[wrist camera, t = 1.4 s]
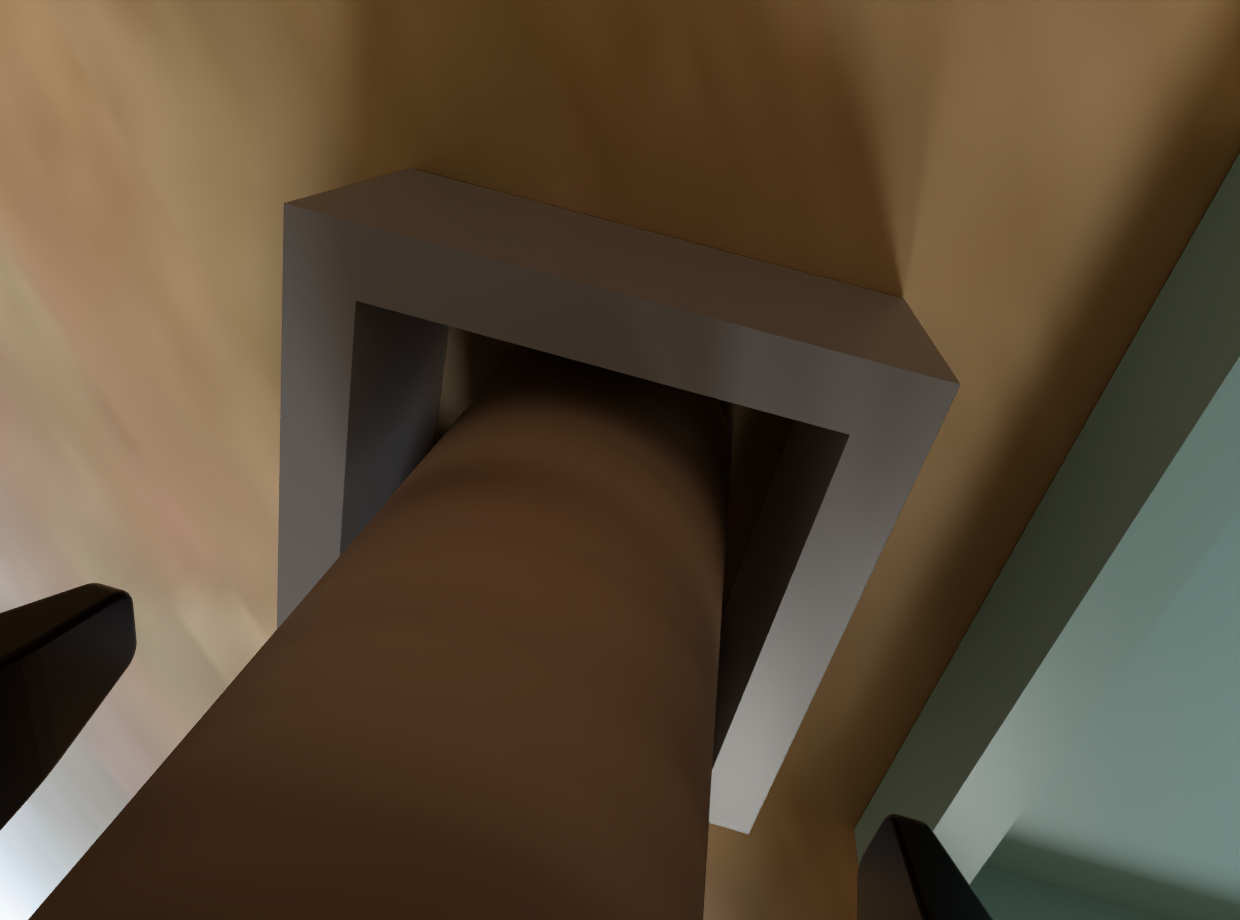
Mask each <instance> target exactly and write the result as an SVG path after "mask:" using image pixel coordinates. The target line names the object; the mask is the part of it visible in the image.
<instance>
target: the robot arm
mask: <svg viewBox="0 0 1240 920" xmlns="http://www.w3.org/2000/svg"><path fill="white" fill-rule="evenodd" d="M135 650H136V631H135V620H134V610H133V601H132V598H131V596H130V595H129V593H127V592H126V591H124V590H120V589H117V588H113V587H110V586H106V585H103V584H99V583H91V584H86V585H83V586H80V587H77V588H74V589H71V590H68V591H65V592H62V593H59V594H56V595H53V596H50V597H47V598H44V599H41V600H38V601H35V602H32V603H29V604H26V605H23V606H20V607H17V608H14V609H11V610H8V611H5V612H2V613H0V830H1V829H2V828H3V827H4V826H5V825H6V823H7V822H8V821H9V820H10V819H11V818H12V817H13V815H14V814H15V813H16V812H17V811H18V810H19V809H20V808H21V806H22V805H23V804H24V803H25V802H26V801H27V800H28V799H29V797H30V796H31V795H32V794H33V793H34V791H35V790H36V789H37V788H38V787H39V786H40V784H41V783H42V782H43V781H44V780H45V778H46V777H47V776H48V775H49V773H50V772H51V771H52V769H53V768H54V767H55V765H56V764H57V763H58V762H59V760H60V759H61V758H62V756H63V755H64V753H65V752H66V751H67V749H68V748H69V747H70V745H71V744H72V743H73V741H74V740H75V738H76V737H77V736H78V734H79V733H80V732H81V730H82V729H83V727H84V726H85V725H86V723H87V722H88V721H89V719H90V718H91V717H92V715H93V714H94V712H95V711H96V710H97V708H98V707H99V706H100V704H101V703H102V702H103V700H104V699H105V697H106V696H107V695H108V693H109V692H110V691H111V689H112V688H113V686H114V685H115V684H116V682H117V681H118V680H119V678H120V677H121V676H122V674H123V673H124V671H125V670H126V669H127V667H128V666H129V664H130V663H131V661H132V659H133V657H134V654H135ZM857 920H993V918H992V917H991V915H990V914H989V912H988V911H987V910H986V908H985V907H984V905H983V904H982V902H981V901H980V899H979V898H978V896H977V895H976V893H975V892H974V891H973V889H972V888H971V886H970V885H969V883H968V882H967V880H966V879H965V877H964V876H963V874H962V873H961V872H960V870H959V869H958V867H957V866H956V864H955V863H954V861H953V860H952V858H951V857H950V855H949V854H948V853H947V851H946V850H945V848H944V847H943V845H942V844H941V842H940V841H939V839H938V838H937V836H936V835H935V833H934V832H933V831H932V829H931V828H930V827H929V826H928V825H927V824H925V823H924V822H922V821H919V820H916V819H912V818H909V817H905V816H902V815H898V814H890V815H888V816H886V817H885V819H884V820H883V821H882V823H881V825H880V826H879V828H878V830H877V832H876V833H875V835H874V837H873V838H872V840H871V842H870V843H869V845H868V847H867V849H866V850H865V852H864V854H863V856H862V858H861V861H860V864H859V868H858V875H857Z"/></svg>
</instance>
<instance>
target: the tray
mask: <svg viewBox="0 0 1240 920" xmlns="http://www.w3.org/2000/svg"><path fill="white" fill-rule="evenodd" d="M890 814H898V815H902V816H905V817H909V818H912V819H916V820H919V821H922V822H924V823H925V824H927V825H928V826H929V827H930V828H931V829H932V831H933V832H934V833H935V835H936V836H937V838H938V839H939V841H940V842H941V844H942V845H943V847H944V848H945V850H946V851H947V853H948V854H949V855H950V857H951V858H952V860H953V861H954V863H955V864H956V866H957V867H958V869H959V870H960V872H961V873H962V874H963V876H964V877H965V879H966V880H967V882H968V883H969V885H970V886H971V888H972V889H973V891H974V892H975V893H976V895H977V896H978V898H979V899H980V901H981V902H982V904H983V905H984V907H985V908H986V910H987V911H988V912H989V914H990V915H991V917H992V918H993V920H1240V153H1239V155H1238V157H1237V158H1236V160H1235V162H1234V164H1233V165H1232V167H1231V169H1230V171H1229V172H1228V174H1227V176H1226V178H1225V179H1224V181H1223V183H1222V185H1221V186H1220V188H1219V190H1218V192H1217V193H1216V195H1215V197H1214V199H1213V200H1212V202H1211V204H1210V206H1209V208H1208V209H1207V211H1206V213H1205V215H1204V216H1203V218H1202V220H1201V222H1200V223H1199V225H1198V227H1197V229H1196V230H1195V232H1194V234H1193V236H1192V237H1191V239H1190V241H1189V243H1188V244H1187V246H1186V248H1185V250H1184V251H1183V253H1182V255H1181V257H1180V258H1179V260H1178V262H1177V264H1176V265H1175V267H1174V269H1173V271H1172V272H1171V274H1170V276H1169V278H1168V280H1167V281H1166V283H1165V285H1164V287H1163V288H1162V290H1161V292H1160V294H1159V295H1158V297H1157V299H1156V301H1155V302H1154V304H1153V306H1152V308H1151V309H1150V311H1149V313H1148V315H1147V316H1146V318H1145V320H1144V322H1143V323H1142V325H1141V327H1140V329H1139V330H1138V332H1137V334H1136V336H1135V337H1134V339H1133V341H1132V343H1131V344H1130V346H1129V348H1128V350H1127V351H1126V353H1125V355H1124V357H1123V359H1122V360H1121V362H1120V364H1119V366H1118V367H1117V369H1116V371H1115V373H1114V374H1113V376H1112V378H1111V380H1110V381H1109V383H1108V385H1107V387H1106V388H1105V390H1104V392H1103V394H1102V395H1101V397H1100V399H1099V401H1098V402H1097V404H1096V406H1095V408H1094V409H1093V411H1092V413H1091V415H1090V416H1089V418H1088V420H1087V422H1086V423H1085V425H1084V427H1083V429H1082V430H1081V432H1080V434H1079V436H1078V438H1077V439H1076V441H1075V443H1074V445H1073V446H1072V448H1071V450H1070V452H1069V453H1068V455H1067V457H1066V459H1065V460H1064V462H1063V464H1062V466H1061V467H1060V469H1059V471H1058V473H1057V474H1056V476H1055V478H1054V480H1053V481H1052V483H1051V485H1050V487H1049V488H1048V490H1047V492H1046V494H1045V495H1044V497H1043V499H1042V501H1041V502H1040V504H1039V506H1038V508H1037V509H1036V511H1035V513H1034V515H1033V517H1032V518H1031V520H1030V522H1029V524H1028V525H1027V527H1026V529H1025V531H1024V532H1023V534H1022V536H1021V538H1020V539H1019V541H1018V543H1017V545H1016V546H1015V548H1014V550H1013V552H1012V553H1011V555H1010V557H1009V559H1008V560H1007V562H1006V564H1005V566H1004V567H1003V569H1002V571H1001V573H1000V574H999V576H998V578H997V580H996V581H995V583H994V585H993V587H992V588H991V590H990V592H989V594H988V596H987V597H986V599H985V601H984V603H983V604H982V606H981V608H980V610H979V611H978V613H977V615H976V617H975V618H974V620H973V622H972V624H971V625H970V627H969V629H968V631H967V632H966V634H965V636H964V638H963V639H962V641H961V643H960V645H959V646H958V648H957V650H956V652H955V653H954V655H953V657H952V659H951V660H950V662H949V664H948V666H947V667H946V669H945V671H944V673H943V675H942V676H941V678H940V680H939V682H938V683H937V685H936V687H935V689H934V690H933V692H932V694H931V696H930V697H929V699H928V701H927V703H926V704H925V706H924V708H923V710H922V711H921V713H920V715H919V717H918V718H917V720H916V722H915V724H914V725H913V727H912V729H911V731H910V732H909V734H908V736H907V738H906V739H905V741H904V743H903V745H902V747H901V748H900V750H899V752H898V754H897V755H896V757H895V759H894V761H893V762H892V764H891V766H890V768H889V769H888V771H887V773H886V775H885V776H884V778H883V780H882V782H881V783H880V785H879V787H878V789H877V790H876V792H875V794H874V796H873V797H872V799H871V801H870V803H869V804H868V806H867V808H866V810H865V811H864V813H863V815H862V817H861V818H860V820H859V822H858V824H857V826H856V827H855V829H854V835H855V842H856V850H857V857H858V865H859V864H860V861H861V858H862V856H863V854H864V852H865V850H866V849H867V847H868V845H869V843H870V842H871V840H872V838H873V837H874V835H875V833H876V832H877V830H878V828H879V826H880V825H881V823H882V821H883V820H884V819H885V817H886V816H888V815H890Z"/></svg>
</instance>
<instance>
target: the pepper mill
mask: <svg viewBox="0 0 1240 920" xmlns="http://www.w3.org/2000/svg"><path fill="white" fill-rule="evenodd" d="M730 468H731V441H730V436H729V431H728V425H727V422H726V419H725V417H724V414H723V411H722V408H721V407H720V405H719V403H718V401H717V399H716V398H712V397H709V396H705V395H701V394H698V393H694V392H690V391H686V390H683V389H679V388H675V387H672V386H668V385H664V384H661V383H657V382H653V381H650V380H646V379H642V378H639V377H635V376H631V375H628V374H624V373H620V372H617V371H613V370H609V369H606V368H602V367H598V366H594V365H591V364H587V363H583V362H580V361H576V360H572V359H569V358H565V357H561V356H558V355H554V354H550V353H547V352H543V351H539V350H536V349H532V348H528V347H525V348H523V349H522V350H520V351H519V352H517V353H516V354H515V355H514V356H513V357H512V358H511V359H509V360H508V361H507V362H506V363H505V364H504V365H503V366H502V368H501V369H500V370H499V371H498V372H497V373H496V375H495V376H494V377H493V378H492V379H491V380H490V382H489V383H488V384H487V385H486V386H485V387H484V389H483V390H482V391H481V392H480V393H479V394H478V396H477V397H476V398H475V399H474V400H473V401H472V403H471V404H470V405H469V406H468V407H467V408H466V410H465V411H464V412H463V413H462V414H461V415H460V417H459V418H458V419H457V420H456V421H455V422H454V424H453V425H452V426H451V427H450V428H449V429H448V431H447V432H446V433H445V434H444V435H443V436H442V438H441V439H440V440H439V441H438V442H437V443H436V445H435V446H434V447H433V448H432V449H431V450H430V452H429V453H428V454H427V455H426V456H425V457H424V459H423V460H422V461H421V462H420V463H419V464H418V466H417V467H416V468H415V469H414V470H413V471H412V473H411V474H410V475H409V476H408V477H407V478H406V480H405V481H404V482H403V483H402V484H401V485H400V487H399V488H398V489H397V490H396V491H395V492H394V494H393V495H392V496H391V497H390V498H389V499H388V501H387V502H386V503H385V504H384V505H383V506H382V508H381V509H380V510H379V511H378V512H377V513H376V515H375V516H374V517H373V518H372V519H371V520H370V522H369V523H368V524H367V525H366V526H365V527H364V529H363V530H362V531H361V532H360V533H359V534H358V536H357V537H356V538H355V539H354V540H353V541H352V543H351V544H350V545H349V546H348V547H347V548H346V550H345V551H344V552H343V553H342V554H341V555H340V557H339V558H338V559H337V560H336V561H335V562H334V564H333V565H332V566H331V567H330V568H329V569H328V571H327V572H326V573H325V574H324V575H323V576H322V578H321V579H320V580H319V581H318V582H317V583H316V585H315V586H314V587H313V588H312V589H311V590H310V592H309V593H308V594H307V595H306V596H305V597H304V599H303V600H302V601H301V602H300V603H299V604H298V606H297V607H296V608H295V609H294V610H293V611H292V613H291V614H290V615H289V616H288V617H287V618H286V620H285V621H284V622H283V623H282V624H281V625H280V627H279V628H278V629H277V630H276V631H275V632H274V634H273V635H272V636H271V637H270V638H269V639H268V641H267V642H266V643H265V644H264V645H263V646H262V648H261V649H260V650H259V651H258V652H257V653H256V655H255V656H254V657H253V658H252V659H251V660H250V662H249V663H248V664H247V665H246V666H245V667H244V669H243V670H242V671H241V672H240V673H239V674H238V676H237V677H236V678H235V679H234V680H233V681H232V683H231V684H230V685H229V686H228V687H227V688H226V690H225V691H224V692H223V693H222V694H221V695H220V697H219V698H218V699H217V700H216V701H215V703H214V704H213V705H212V706H211V707H210V708H209V710H208V711H207V712H206V713H205V714H204V715H203V717H202V718H201V719H200V720H199V721H198V722H197V724H196V725H195V726H194V727H193V728H192V729H191V731H190V732H189V733H188V734H187V735H186V736H185V738H184V739H183V740H182V741H181V742H180V743H179V745H178V746H177V747H176V748H175V749H174V750H173V752H172V753H171V754H170V755H169V756H168V757H167V759H166V760H165V761H164V762H163V763H162V764H161V766H160V767H159V768H158V769H157V770H156V771H155V773H154V774H153V775H152V776H151V777H150V778H149V780H148V781H147V782H146V783H145V784H144V785H143V787H142V788H141V789H140V790H139V791H138V792H137V794H136V795H135V796H134V797H133V798H132V799H131V801H130V802H129V803H128V804H127V805H126V806H125V808H124V809H123V810H122V811H121V812H120V813H119V815H118V816H117V817H116V818H115V819H114V820H113V822H112V823H111V824H110V825H109V826H108V827H107V829H106V830H105V831H104V832H103V833H102V834H101V836H100V837H99V838H98V839H97V840H96V841H95V843H94V844H93V845H92V846H91V847H90V848H89V850H88V851H87V852H86V853H85V854H84V855H83V857H82V858H81V859H80V860H79V861H78V862H77V864H76V865H75V866H74V867H73V868H72V869H71V871H70V872H69V873H68V874H67V875H66V876H65V878H64V879H63V880H62V881H61V882H60V883H59V885H58V886H57V887H56V888H55V889H54V890H53V892H52V893H51V894H50V895H49V896H48V897H47V899H46V900H45V901H44V902H43V903H42V904H41V906H40V907H39V908H38V909H37V910H36V911H35V913H34V914H33V915H32V916H31V917H30V918H29V920H703V909H704V892H705V876H706V860H707V843H708V827H709V811H710V794H711V778H712V762H713V745H714V729H715V713H716V697H717V680H718V664H719V648H720V631H721V615H722V599H723V582H724V566H725V550H726V533H727V517H728V501H729V485H730Z"/></svg>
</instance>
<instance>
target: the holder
mask: <svg viewBox="0 0 1240 920" xmlns="http://www.w3.org/2000/svg"><path fill="white" fill-rule="evenodd" d="M449 326H451V327H455V328H458V329H462V330H466V331H469V332H473V333H477V334H480V335H484V336H488V337H491V338H495V339H499V340H502V341H506V342H510V343H514V344H517V345H521V346H525V347H528V348H532V349H536V350H539V351H543V352H547V353H550V354H554V355H558V356H561V357H565V358H569V359H572V360H576V361H580V362H583V363H587V364H591V365H594V366H598V367H602V368H606V369H609V370H613V371H617V372H620V373H624V374H628V375H631V376H635V377H639V378H642V379H646V380H650V381H653V382H657V383H661V384H664V385H668V386H672V387H675V388H679V389H683V390H686V391H690V392H694V393H698V394H701V395H705V396H709V397H712V398H716V399H720V400H723V401H727V402H731V403H734V404H738V405H742V406H745V407H749V408H753V409H756V410H760V411H764V412H767V413H771V414H775V415H779V416H782V417H786V418H790V419H793V420H795V421H794V424H793V427H792V429H791V432H790V435H789V437H788V440H787V443H786V446H785V448H784V451H783V454H782V456H781V459H780V462H779V465H778V467H777V470H776V473H775V475H774V478H773V481H772V484H771V486H770V489H769V492H768V494H767V497H766V500H765V502H764V505H763V508H762V511H761V513H760V516H759V519H758V521H757V524H756V527H755V530H754V532H753V535H752V538H751V540H750V543H749V546H748V549H747V551H746V554H745V557H744V559H743V562H742V565H741V568H740V570H739V573H738V576H737V578H736V581H735V584H734V586H733V589H732V592H731V595H730V597H729V600H728V603H727V605H726V608H725V611H724V614H723V616H722V619H721V631H720V648H719V664H718V680H717V697H716V713H715V729H714V745H713V762H712V778H711V794H710V811H709V823H712V824H715V825H718V826H722V827H725V828H729V829H732V830H736V831H739V832H742V833H746V834H749V832H750V830H751V828H752V826H753V824H754V822H755V820H756V818H757V815H758V813H759V811H760V809H761V807H762V805H763V803H764V801H765V798H766V796H767V794H768V792H769V790H770V788H771V786H772V784H773V781H774V779H775V777H776V775H777V773H778V771H779V769H780V767H781V764H782V762H783V760H784V758H785V756H786V754H787V752H788V750H789V747H790V745H791V743H792V741H793V739H794V737H795V735H796V733H797V731H798V728H799V726H800V724H801V722H802V720H803V718H804V716H805V714H806V711H807V709H808V707H809V705H810V703H811V701H812V699H813V697H814V694H815V692H816V690H817V688H818V686H819V684H820V682H821V680H822V677H823V675H824V673H825V671H826V669H827V667H828V665H829V663H830V660H831V658H832V656H833V654H834V652H835V650H836V648H837V646H838V643H839V641H840V639H841V637H842V635H843V633H844V631H845V629H846V626H847V624H848V622H849V620H850V618H851V616H852V614H853V612H854V610H855V607H856V605H857V603H858V601H859V599H860V597H861V595H862V593H863V590H864V588H865V586H866V584H867V582H868V580H869V578H870V576H871V573H872V571H873V569H874V567H875V565H876V563H877V561H878V559H879V556H880V554H881V552H882V550H883V548H884V546H885V544H886V542H887V539H888V537H889V535H890V533H891V531H892V529H893V527H894V525H895V522H896V520H897V518H898V516H899V514H900V512H901V510H902V508H903V505H904V503H905V501H906V499H907V497H908V495H909V493H910V491H911V489H912V486H913V484H914V482H915V480H916V478H917V476H918V474H919V472H920V469H921V467H922V465H923V463H924V461H925V459H926V457H927V455H928V452H929V450H930V448H931V446H932V444H933V442H934V440H935V438H936V435H937V433H938V431H939V429H940V427H941V425H942V423H943V421H944V418H945V416H946V414H947V412H948V410H949V408H950V406H951V404H952V401H953V399H954V397H955V395H956V393H957V391H958V389H959V387H960V383H959V382H958V380H957V379H956V377H955V376H954V374H953V372H952V371H951V369H950V368H949V366H948V365H947V363H946V362H945V360H944V359H943V357H942V356H941V354H940V353H939V351H938V350H937V348H936V347H935V345H934V344H933V342H932V341H931V339H930V338H929V336H928V335H927V333H926V332H925V330H924V328H923V327H922V325H921V324H920V322H919V321H918V319H917V318H916V316H915V315H914V313H913V312H912V310H911V309H910V307H909V306H908V304H907V303H906V301H905V300H904V299H903V298H899V297H895V296H891V295H888V294H884V293H880V292H876V291H873V290H869V289H865V288H861V287H857V286H854V285H850V284H846V283H842V282H839V281H835V280H831V279H827V278H823V277H820V276H816V275H812V274H808V273H805V272H801V271H797V270H793V269H789V268H786V267H782V266H778V265H774V264H771V263H767V262H763V261H759V260H756V259H752V258H748V257H744V256H740V255H737V254H733V253H729V252H725V251H722V250H718V249H714V248H710V247H706V246H703V245H699V244H695V243H691V242H688V241H684V240H680V239H676V238H672V237H669V236H665V235H661V234H657V233H654V232H650V231H646V230H642V229H638V228H635V227H631V226H627V225H623V224H620V223H616V222H612V221H608V220H604V219H601V218H597V217H593V216H589V215H586V214H582V213H578V212H574V211H570V210H567V209H563V208H559V207H555V206H552V205H548V204H544V203H540V202H536V201H533V200H529V199H525V198H521V197H518V196H514V195H510V194H506V193H502V192H499V191H495V190H491V189H487V188H484V187H480V186H476V185H472V184H468V183H465V182H461V181H457V180H453V179H450V178H446V177H442V176H438V175H434V174H431V173H427V172H423V171H419V170H416V169H412V168H409V169H405V170H402V171H398V172H395V173H391V174H387V175H384V176H380V177H377V178H373V179H369V180H366V181H362V182H359V183H355V184H351V185H348V186H344V187H341V188H337V189H334V190H330V191H326V192H323V193H319V194H316V195H312V196H308V197H305V198H301V199H298V200H294V201H290V202H287V203H284V234H283V295H282V357H281V418H280V479H279V540H278V601H277V629H278V628H279V627H280V625H281V624H282V623H283V622H284V621H285V620H286V618H287V617H288V616H289V615H290V614H291V613H292V611H293V610H294V609H295V608H296V607H297V606H298V604H299V603H300V602H301V601H302V600H303V599H304V597H305V596H306V595H307V594H308V593H309V592H310V590H311V589H312V588H313V587H314V586H315V585H316V583H317V582H318V581H319V580H320V579H321V578H322V576H323V575H324V574H325V573H326V572H327V571H328V569H329V568H330V567H331V566H332V565H333V564H334V562H335V561H336V560H337V559H338V558H339V557H340V555H341V554H342V553H343V552H344V551H345V550H346V548H347V547H348V546H349V545H350V544H351V543H352V541H353V540H354V539H355V538H356V537H357V536H358V534H359V533H360V532H361V531H362V530H363V529H364V527H365V526H366V525H367V524H368V523H369V522H370V520H371V519H372V518H373V517H374V516H375V515H376V513H377V512H378V511H379V510H380V509H381V508H382V506H383V505H384V504H385V503H386V502H387V501H388V499H389V498H390V497H391V496H392V495H393V494H394V492H395V491H396V490H397V489H398V488H399V487H400V485H401V484H402V483H403V482H404V481H405V480H406V478H407V477H408V476H409V475H410V474H411V473H412V471H413V470H414V469H415V468H416V467H417V466H418V464H419V463H420V462H421V461H422V460H423V459H424V457H425V456H426V455H427V454H428V453H429V452H430V450H431V449H432V448H433V447H434V442H435V434H436V426H437V418H438V410H439V402H440V394H441V386H442V378H443V370H444V362H445V354H446V346H447V337H448V329H449Z"/></svg>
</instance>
